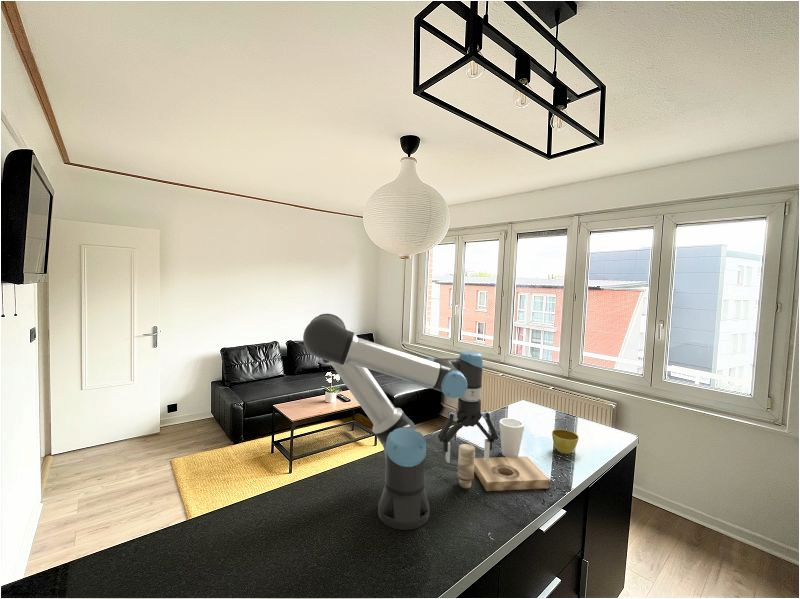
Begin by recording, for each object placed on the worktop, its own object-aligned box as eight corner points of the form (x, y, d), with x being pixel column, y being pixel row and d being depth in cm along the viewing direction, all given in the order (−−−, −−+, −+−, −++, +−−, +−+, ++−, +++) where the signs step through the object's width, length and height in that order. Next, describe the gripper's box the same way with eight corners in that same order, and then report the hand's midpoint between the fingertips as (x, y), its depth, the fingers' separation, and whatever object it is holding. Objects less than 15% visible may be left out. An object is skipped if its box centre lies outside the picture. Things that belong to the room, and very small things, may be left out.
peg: (459, 490, 122) (461, 451, 121) (455, 480, 127) (456, 444, 126) (475, 489, 123) (477, 451, 122) (470, 480, 128) (472, 443, 127)
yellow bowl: (580, 458, 147) (582, 441, 146) (554, 455, 148) (555, 438, 148) (573, 447, 157) (574, 430, 156) (548, 444, 158) (549, 428, 158)
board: (486, 491, 122) (486, 482, 122) (470, 466, 138) (471, 458, 137) (548, 488, 125) (549, 479, 125) (526, 464, 141) (526, 456, 140)
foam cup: (523, 461, 143) (525, 428, 142) (498, 458, 144) (500, 425, 144) (520, 450, 152) (522, 419, 151) (497, 447, 154) (499, 416, 153)
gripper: (435, 403, 118) (433, 467, 119) (509, 401, 121) (507, 463, 122) (430, 395, 125) (428, 456, 126) (500, 393, 128) (498, 453, 130)
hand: (467, 460), depth 124 cm, fingers open, 13 cm apart
